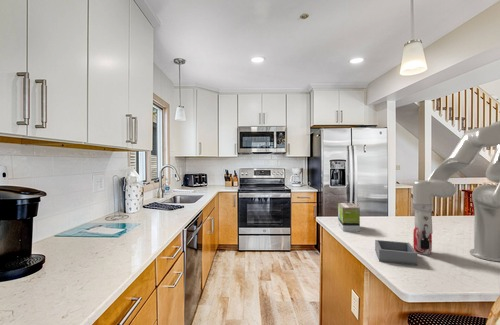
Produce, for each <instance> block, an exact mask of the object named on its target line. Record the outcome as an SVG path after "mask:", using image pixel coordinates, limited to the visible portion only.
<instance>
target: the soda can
mask: <svg viewBox="0 0 500 325" xmlns="http://www.w3.org/2000/svg"><path fill="white" fill-rule="evenodd" d="M422 233H425V231H422ZM412 234H413V239H412V240H413V245H412V247H413V248H414V250H415V251H416V252H417V254H418V253H419V255H422V254H423V255H424V256H425V255H426V256H428V255H430V254H432V250H433V248H432V247H433V245H432V244H433V240H432V238H433V236H432V235H433V233H432V234H430V233H429V234H430V235H429V249H421V233H419V230H418V227H416V226H415V225H414V228H413V233H412ZM423 236H424V234H423Z"/></svg>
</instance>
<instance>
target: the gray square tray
mask: <svg viewBox="0 0 500 325" xmlns="http://www.w3.org/2000/svg"><path fill="white" fill-rule="evenodd" d="M374 241H375V242H374V251H375V254H376V256H377V257H376V258H377V259H378V262H379V263H391V264H398V265H408V266H416V267H418V253H417V252H416V251H415V250H414V247H413V245H411V243H410V242H406V241H405V242H404V241H403V242H402V241H393V240H382V239H375V240H374Z"/></svg>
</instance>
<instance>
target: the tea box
mask: <svg viewBox="0 0 500 325" xmlns="http://www.w3.org/2000/svg"><path fill="white" fill-rule="evenodd" d="M360 209H361V208H360V207H359V206H358V205H357V204H355V203H354V202H338V203H337V213H338V214H337V217H338V218H337V221H338V226H339V227H340V229H341V230H342V231H343V232H354V233H355V232H356V233H358V232H361V225H360V224H361V219H360V218H361V217H360V216H361V215H360V213H361V210H360Z"/></svg>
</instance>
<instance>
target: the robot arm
mask: <svg viewBox="0 0 500 325" xmlns="http://www.w3.org/2000/svg"><path fill="white" fill-rule="evenodd" d="M489 147H490V148H491V147H492V148H493V147H495V150H494V153H493V156H492V157H491V159H490V162H489V164H488V166H487V167H486V168H487V169H486V171H485V178H486V179H487V180H488V181H490V182H492V183H495V184H497V185H495V184H486V183H485V184H480V185H478V186H476V187H475V188H474V189H472V190H473V191H472V194H471V198H472V203H473V208H474V210H473V211H474V223H473V224H474V225H473V226H474V229H473V230H474V235H473V236H474V239H473V242H474V246H473V247H474V248H472V249H470V250H469V253H470V255H471V256H473V257H476V258H478V259H482V260H486V261H490V262H491V261H492V262H500V120H499V121H498V120H497V121H495V122H493V123H491V124H490V125H487V126H483V127H478V128H472V129H468V130H467V131H466V132H464V134H463V135H462V136H461V137H460V140H459V141H458V142H457V144H456V146H455V147H454V148H453V150H452V152H451V153H450V154H449V156H447V158H446V159H445V160H443V161H442V162H441V163H440V164H439V165H438V166H437V167H436V168H435V169H434V170H433V172H432V173H431V174H430V176H429V177H428V178H427V180H425V179H424V180H421V179H420V180H419V179H418V180H414V181H413V182H412V210H413V211H414V227H415V226H416V227H418V230H419V233H421V249H429V235H430V234H432V235H433V218H432V212H433V209H434V208H433V204H434V203H433V199H434V198H433V197H436V198H444V199H447V198H450V197H454V195H455V194H456V192H457V187H456V185H454V184H453V183H452V182H450V181H449V180H450V178H452V176H454V175H455V174H457V173H458V172H461V171H464V170H466V169H467V168H469V167H470V166H471V165H472V164H473V162H474V161H475V159H476V158H477V156H478V155H479V154H480V152H481V151H482V149H483V148H489ZM422 231H425V233H422ZM429 233H430V234H429ZM423 234H424V236H423Z"/></svg>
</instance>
